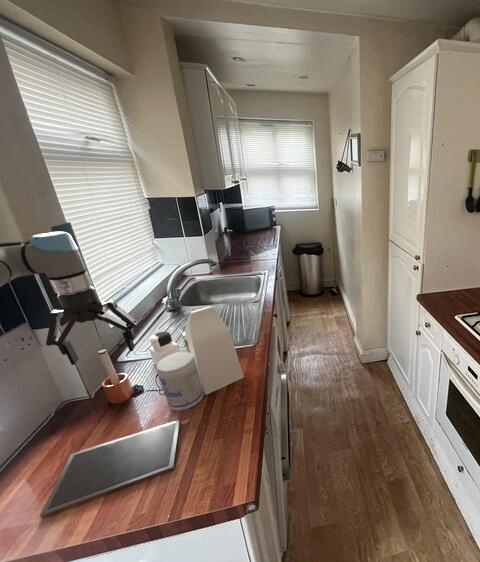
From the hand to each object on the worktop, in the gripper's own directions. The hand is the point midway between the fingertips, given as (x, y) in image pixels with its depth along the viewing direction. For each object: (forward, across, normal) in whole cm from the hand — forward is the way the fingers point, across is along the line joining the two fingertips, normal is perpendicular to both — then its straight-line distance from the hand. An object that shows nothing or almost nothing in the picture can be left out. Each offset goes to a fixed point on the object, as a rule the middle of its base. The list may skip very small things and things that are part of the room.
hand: (104, 355), depth 91 cm
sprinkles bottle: (+16, +21, +8) cm, 27 cm away
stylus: (+15, 0, 0) cm, 15 cm away
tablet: (+16, +6, -28) cm, 33 cm away
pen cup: (+16, 0, 0) cm, 16 cm away
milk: (+16, +28, -4) cm, 32 cm away
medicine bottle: (+16, +11, +14) cm, 24 cm away
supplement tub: (+16, +19, -11) cm, 27 cm away
